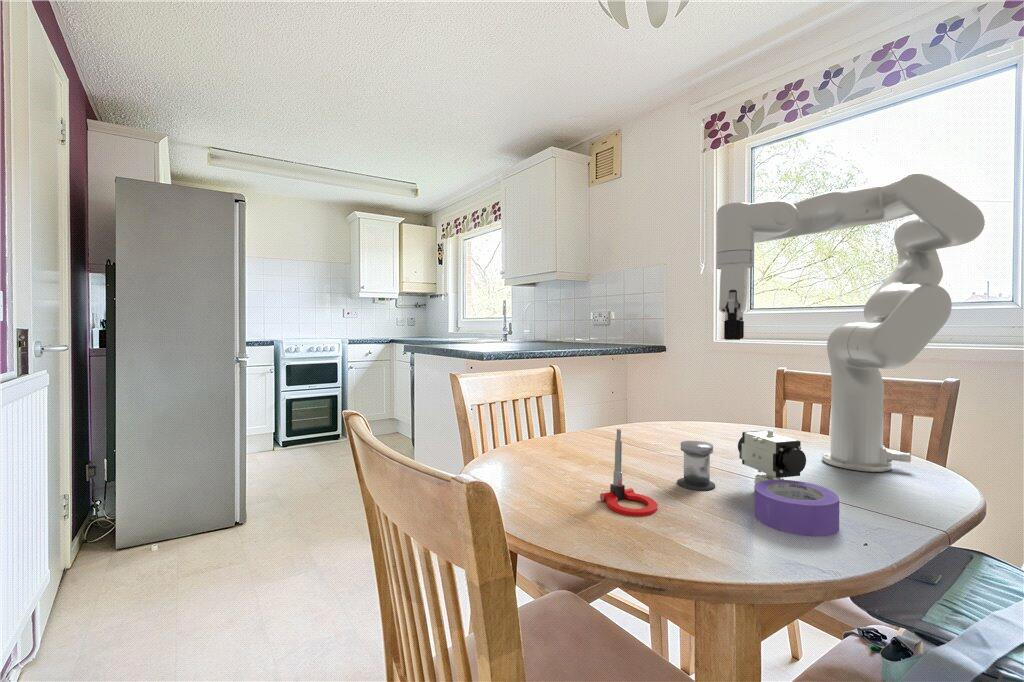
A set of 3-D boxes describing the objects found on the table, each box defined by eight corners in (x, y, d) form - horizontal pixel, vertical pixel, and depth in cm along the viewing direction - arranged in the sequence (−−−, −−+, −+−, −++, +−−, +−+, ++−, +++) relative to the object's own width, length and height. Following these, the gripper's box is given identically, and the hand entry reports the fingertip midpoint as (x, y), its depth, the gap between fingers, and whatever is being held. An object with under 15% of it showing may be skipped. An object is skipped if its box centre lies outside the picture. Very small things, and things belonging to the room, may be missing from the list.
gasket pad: (717, 482, 96) (717, 480, 96) (713, 492, 90) (713, 491, 90) (680, 477, 99) (680, 475, 99) (674, 487, 93) (674, 485, 93)
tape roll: (796, 542, 70) (797, 508, 70) (737, 512, 81) (738, 483, 81) (858, 531, 73) (858, 499, 73) (793, 504, 84) (793, 476, 84)
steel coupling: (714, 480, 96) (714, 442, 96) (710, 489, 91) (711, 449, 91) (683, 476, 99) (683, 439, 99) (677, 484, 94) (678, 446, 93)
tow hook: (667, 514, 81) (633, 494, 90) (670, 439, 80) (635, 426, 89) (626, 522, 78) (595, 501, 86) (628, 444, 77) (596, 430, 85)
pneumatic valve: (756, 483, 95) (757, 423, 95) (806, 504, 84) (807, 436, 83) (732, 486, 94) (733, 425, 93) (780, 508, 82) (781, 438, 82)
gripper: (720, 266, 115) (719, 338, 115) (711, 257, 100) (711, 340, 100) (755, 264, 111) (754, 338, 112) (752, 254, 96) (751, 340, 97)
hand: (734, 339), depth 106 cm, fingers open, 9 cm apart
